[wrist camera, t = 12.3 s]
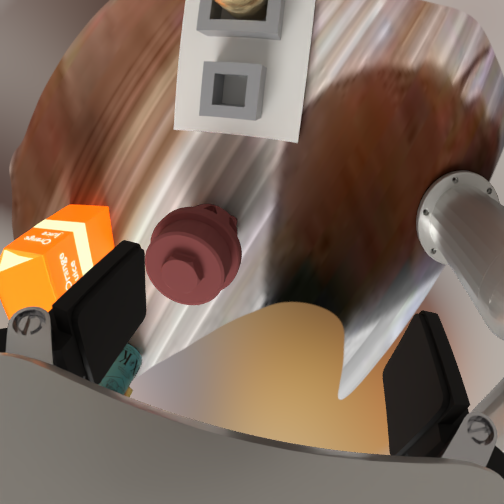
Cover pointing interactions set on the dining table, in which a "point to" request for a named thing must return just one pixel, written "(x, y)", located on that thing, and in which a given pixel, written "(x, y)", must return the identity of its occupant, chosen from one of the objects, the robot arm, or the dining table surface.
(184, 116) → the plate
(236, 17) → the brass pipe fitting
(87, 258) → the orange juice
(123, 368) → the beverage bottle
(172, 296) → the mechanical component
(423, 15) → the dining table surface
